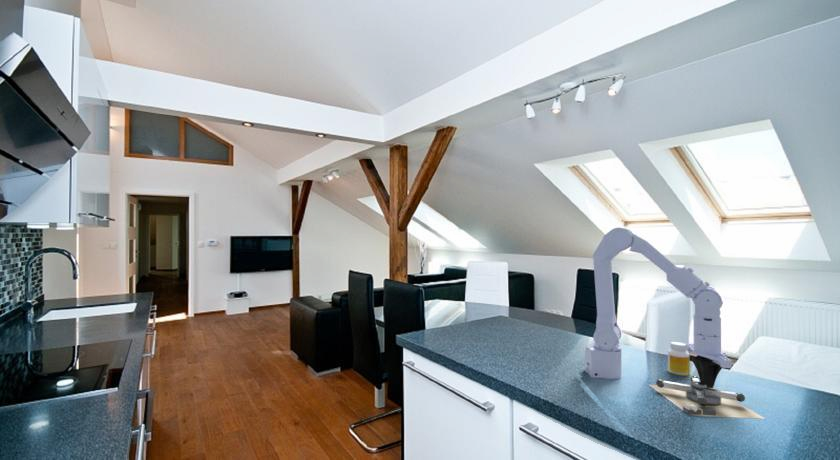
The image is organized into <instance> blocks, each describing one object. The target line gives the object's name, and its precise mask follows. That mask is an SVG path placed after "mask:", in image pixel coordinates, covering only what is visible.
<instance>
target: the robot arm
mask: <svg viewBox="0 0 840 460" xmlns="http://www.w3.org/2000/svg"><path fill="white" fill-rule="evenodd" d="M627 249H629V252H632V253H637V254H641V255H642V256H643V257H645V258H646V259H648V260H649V261H650V262H651V263H653V264H654V265H655V266H656V267H658V268H659V269H660V270H661V271H663V272H664V273H665V275H666V281H667V283H670V284H671V286H673V287H674V288H675V289H676V290H678V292H680V293H681V294H682V295H683V296H685V297H686V298H687V299H691V300H692V302H693V304H694V313H693V315H692V316H693V343H685V344H686V351H687V352H691V353H693V354H694V355H696V356H691V357H690V361H692V363H693V365H694V367H695V369H696V371H697V374H698V378H699V380H700V382H702V383H705V384H706V385H707V388H713V389H714V386H715V383H716V381H717V377H718V375H719V373H720V372H721V370H722V369H732V368H733V367H732V363H733V362H732V360H731V359H729V358H728V357H727V356H726V352H725V351H724V350H723V351H722V318H721V309H722V307H723V300H722V297H721V295H720V293H718V291H717V290H715V288H713V287H711V286H710V285H711V284H710V283H709V282H708V281H704V280H703V279H702V278H700V277H699V276H697V275H696V274H695V273H694V269H693V268H691V267H690V266H688V267H686V266H685V265H676V264H674V263H673V261H671V260H670V259H668V258H667V257H666V256H665V255H664V254H663V253H661V252H660V251H659V250H658V249H657V248H655V247H654V246H653V245H652V244H651V243H650V242H649V241H647V240H645V238H643V237H641V236H639V235H638V234H635V233H633V231H631V230H630V229H628V228H625V227H615V228H612V229H611V230H609V232H606V234H604V235H603V236H602V239H601V241H600V243H599V244H598V245H597V247H596V248H595V251H593V255H592V256H593V257H592V259H593V270H594V271H593V272H594V273H593V275H594V287H595V300H596V302H595V304H596V321H595V327H596V328H595V330H594V333H593V341H594V343H593V346H587V347H586V348H585V350H584V371H585V372H586V373H587V375H589V376H590V377H591V378H598V379H599V378H600V379H601V378H602V379H609V380H618V379H621V378H622V346H621V345H620V344H619V341H620V339H621V337H622V331H621V328H620V327H619V325H618V322H617V321H618V320H617V316H616V307H615V296H614V295H615V292H614V280H613V269H612V268H613V265H612V261H613V260H614V258H616V256H618V255H619V254H620V253H621V252H624V251H626V250H627Z"/></svg>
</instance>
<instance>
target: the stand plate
mask: <svg viewBox="0 0 840 460" xmlns="http://www.w3.org/2000/svg"><path fill="white" fill-rule="evenodd" d="M648 386H650V387H651V388H652V389H653V390H655V391H656V392H658V393H659V394H660V395H662V396H663V397H664V398H666V399H667V400H668V401H670V403H672V404H674V406H676V407H678V409H680V410H681V411H683V406H690V405H695V406H698V407H703V406H700V405H699V404H698V403H696V402H693V401H691V400H689V399H688V398H687V397H686V392H685V391H679V390H674V389H668V388H660V387H658V386H657V385H656V384H648ZM711 389H714V387H713V388H711ZM705 407H711V408H712V409H714V410H715V411H716V415H698V414H687V413H686V412H684V413H685V414H687V415H688V416H690V417H691V416H693V417H694V416H695V417H713V418H714V417H715V418H737V419H739V418H740V419H758V420H759V419H760V420H761V419H762V420H766V418H765V417H763V416H762V415H760V414H758V413H757V412H755V411H753V410H752V409H749V408H748V407H746V406H744V405H742V404H741V403H739V401H736V400H730V399H725V398H721V405H718V406H709V405H707V406H705Z"/></svg>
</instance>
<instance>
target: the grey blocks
mask: <svg viewBox="0 0 840 460" xmlns="http://www.w3.org/2000/svg"><path fill="white" fill-rule="evenodd" d="M682 411H683V412H684V413H685V412H686V413H685V414H687V415H688V414H698V415H716V411H715V410H714V409H712V408H711V407H698V406H695V405H690V406H683V410H682Z"/></svg>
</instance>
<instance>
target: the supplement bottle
mask: <svg viewBox="0 0 840 460" xmlns="http://www.w3.org/2000/svg"><path fill="white" fill-rule="evenodd" d="M690 361H691V357H690V353H689V351H687V350H686V343H684V342H679V341H678V342H677V341H671V342H670V348H669V349H668V351H667V372H669V373H670V374H672V375H675V376H683V377H684V376H685V377H686V376H687V377H688V376H690V375H691V374H690V372H691V371H690V370H691V369H690V365H691V364H690Z"/></svg>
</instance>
